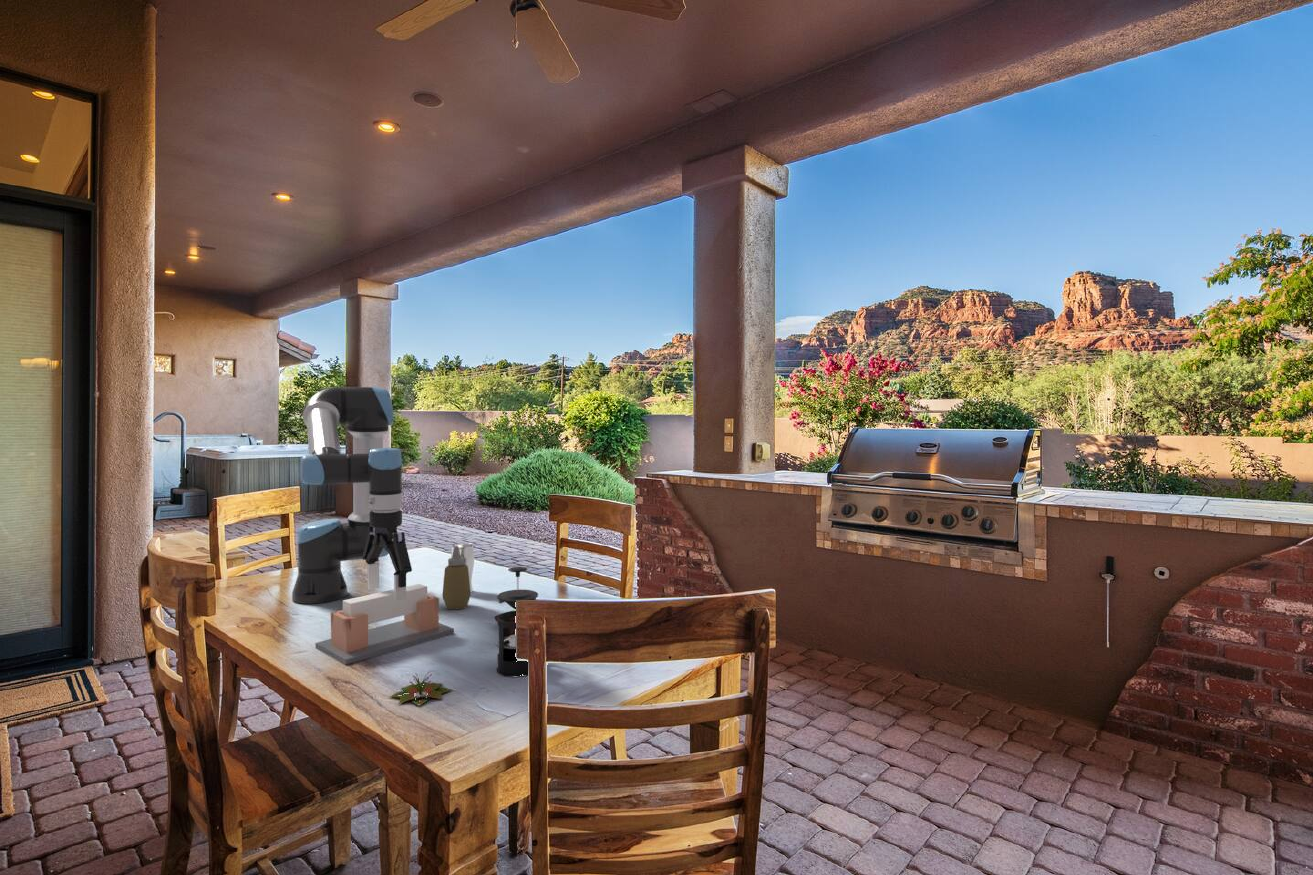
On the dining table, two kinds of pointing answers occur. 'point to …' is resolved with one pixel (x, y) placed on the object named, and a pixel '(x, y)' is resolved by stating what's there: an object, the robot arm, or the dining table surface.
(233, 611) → the dining table surface
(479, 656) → the dining table surface
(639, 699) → the dining table surface
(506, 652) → the french press
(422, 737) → the dining table surface
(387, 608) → the slat
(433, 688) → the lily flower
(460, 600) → the squeeze bottle
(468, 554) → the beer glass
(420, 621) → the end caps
